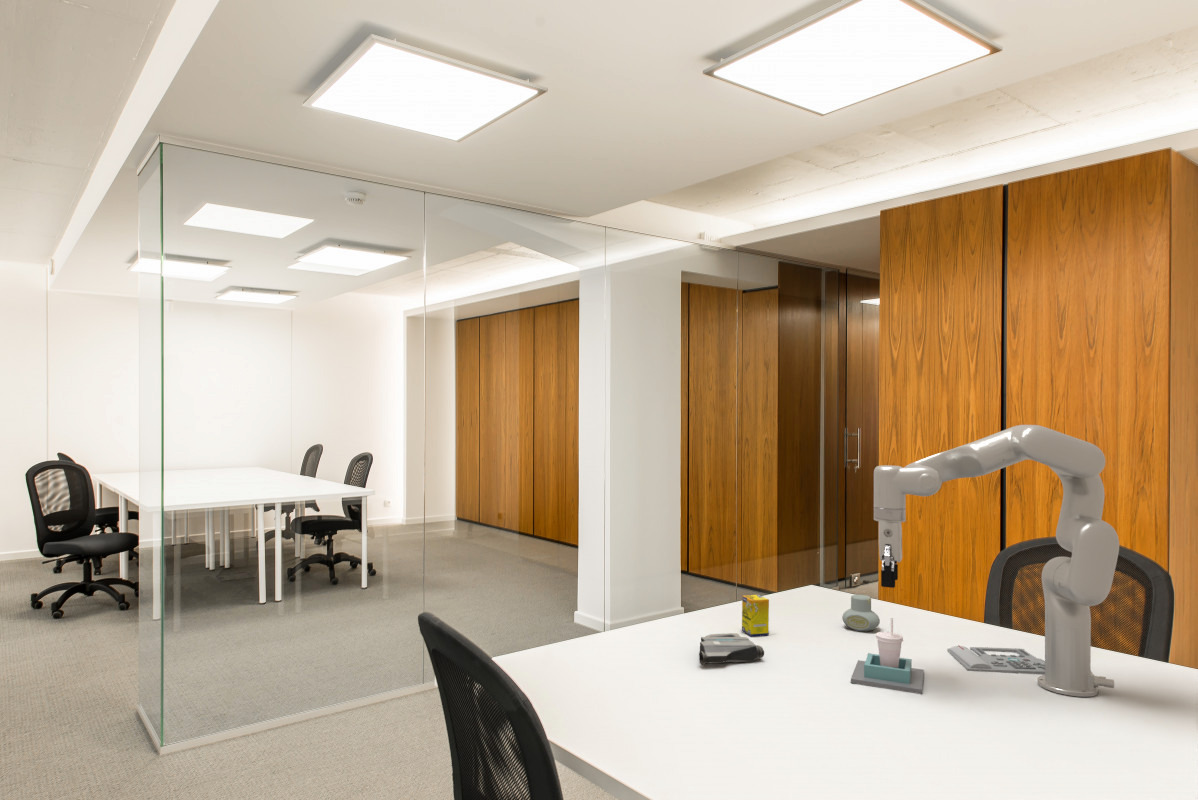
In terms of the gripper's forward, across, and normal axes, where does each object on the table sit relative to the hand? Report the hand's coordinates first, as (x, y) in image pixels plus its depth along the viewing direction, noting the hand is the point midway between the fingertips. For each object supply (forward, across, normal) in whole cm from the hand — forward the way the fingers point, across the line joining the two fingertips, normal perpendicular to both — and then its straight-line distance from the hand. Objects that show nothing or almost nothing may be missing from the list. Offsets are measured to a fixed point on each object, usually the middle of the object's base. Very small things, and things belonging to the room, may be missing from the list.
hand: (889, 583), depth 190 cm
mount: (+24, 0, 0) cm, 24 cm away
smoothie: (+23, 0, 0) cm, 23 cm away
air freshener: (+24, +44, +11) cm, 51 cm away
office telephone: (+25, +29, -26) cm, 46 cm away
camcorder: (+24, -2, +41) cm, 48 cm away
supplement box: (+24, +23, +39) cm, 51 cm away
